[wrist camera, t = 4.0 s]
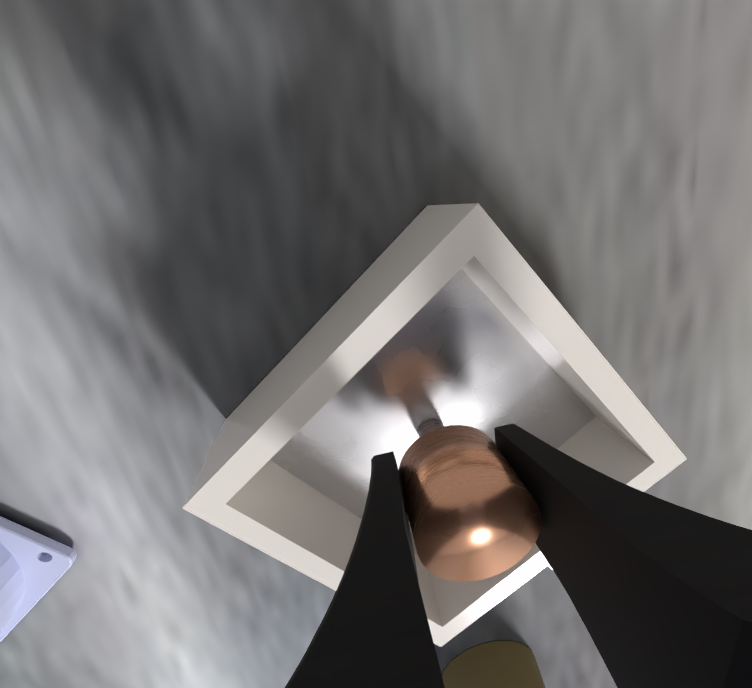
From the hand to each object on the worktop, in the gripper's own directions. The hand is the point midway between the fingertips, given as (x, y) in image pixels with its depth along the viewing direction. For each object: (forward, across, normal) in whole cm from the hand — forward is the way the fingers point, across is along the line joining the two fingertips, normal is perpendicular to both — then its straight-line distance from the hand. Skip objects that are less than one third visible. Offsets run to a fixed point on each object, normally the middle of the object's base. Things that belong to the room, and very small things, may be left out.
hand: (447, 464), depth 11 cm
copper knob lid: (+2, 0, 0) cm, 2 cm away
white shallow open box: (+4, 0, 0) cm, 4 cm away
